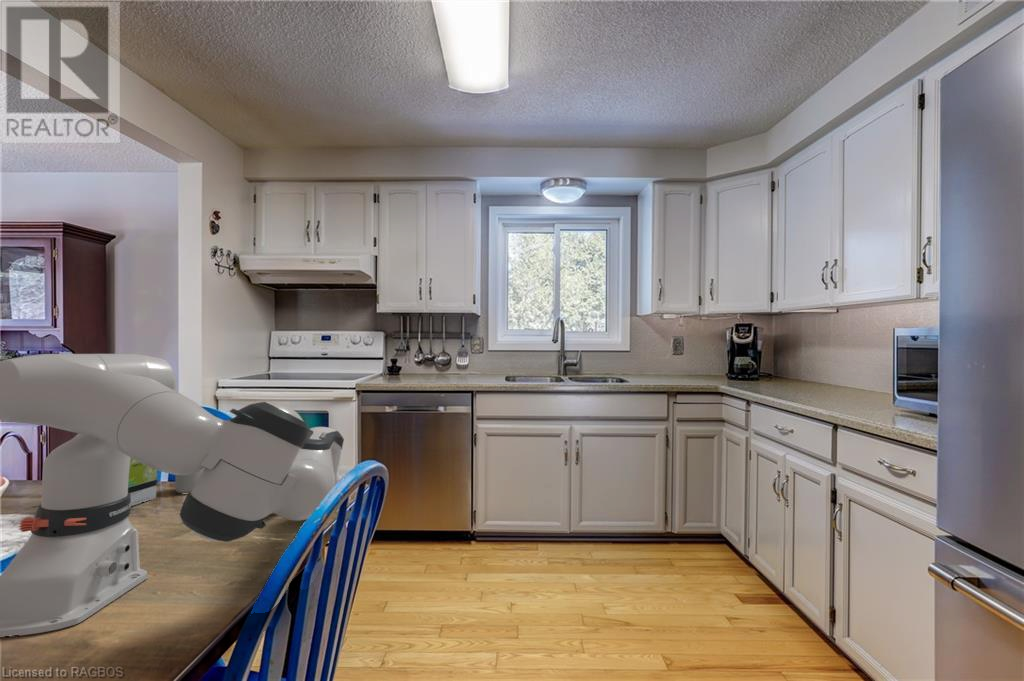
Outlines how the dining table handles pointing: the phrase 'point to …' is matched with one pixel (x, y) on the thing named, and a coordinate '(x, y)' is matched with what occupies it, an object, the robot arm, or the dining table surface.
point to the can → (186, 482)
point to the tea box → (141, 482)
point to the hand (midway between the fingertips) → (252, 476)
